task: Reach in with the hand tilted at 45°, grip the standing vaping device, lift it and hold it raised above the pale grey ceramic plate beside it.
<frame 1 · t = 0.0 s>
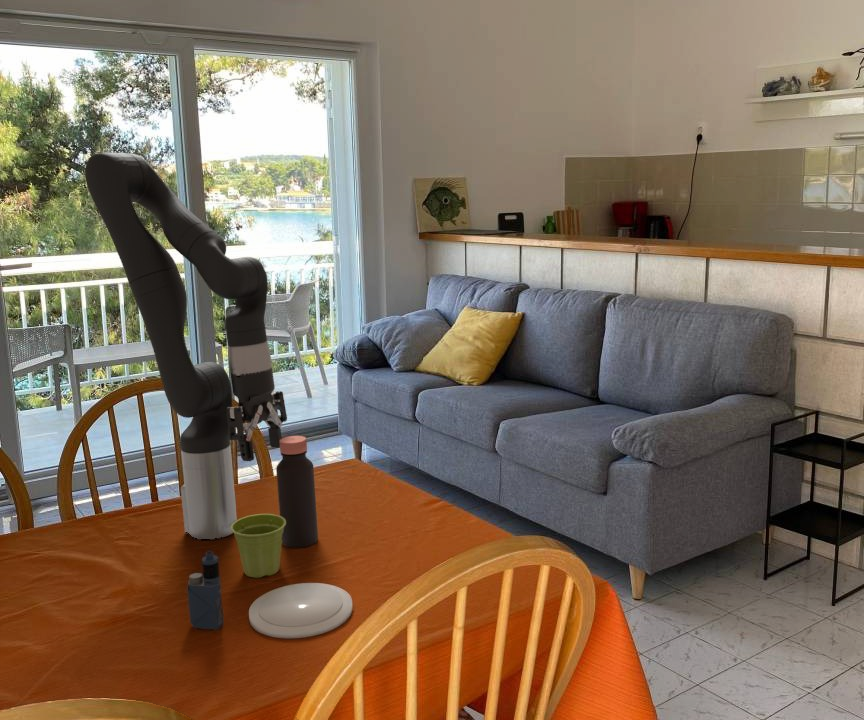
hand: (262, 453, 159), 17 cm above the table, tool pointing down, fingers open, 8 cm apart
plant pot: (262, 571, 149), on the table
plate: (301, 612, 134), on the table
vaping device: (207, 626, 131), on the table
bottle: (300, 542, 161), on the table
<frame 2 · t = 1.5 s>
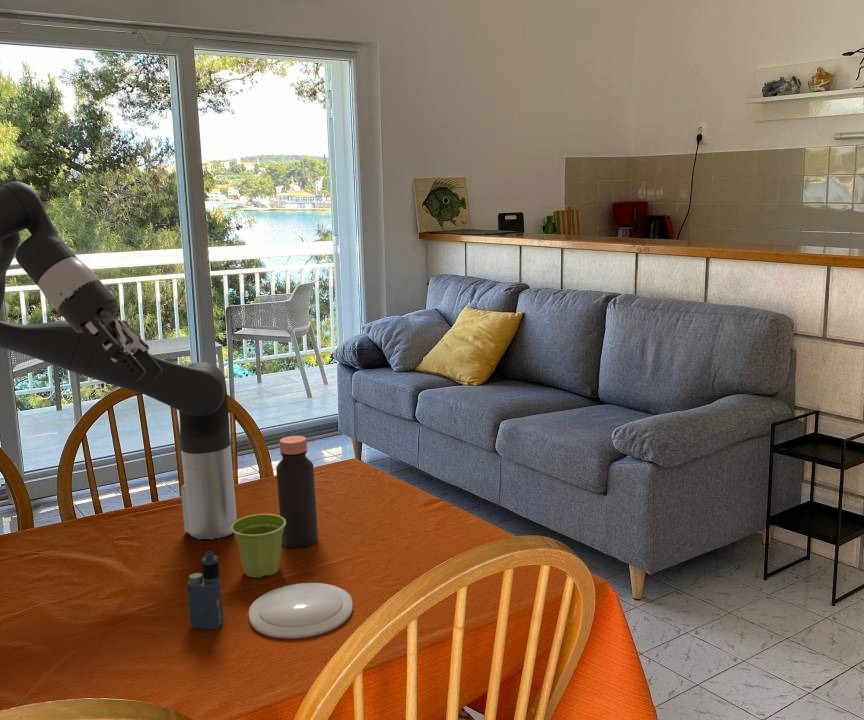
hand: (149, 376, 129), 38 cm above the table, tool tilted 40°, fingers open, 8 cm apart
nothing on the table moved.
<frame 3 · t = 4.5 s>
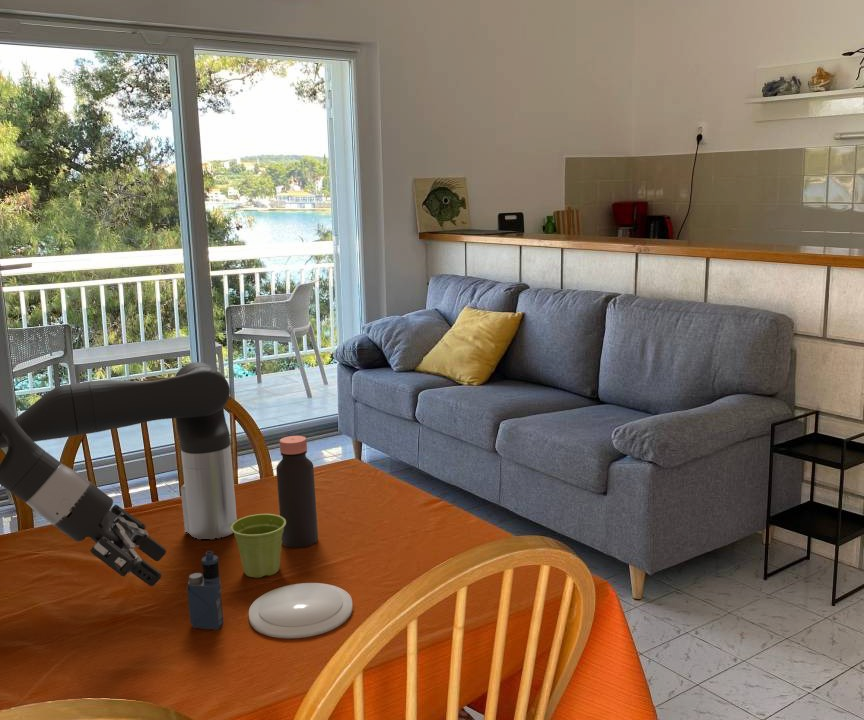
hand: (160, 568, 127), 11 cm above the table, tool tilted 45°, fingers open, 8 cm apart
nothing on the table moved.
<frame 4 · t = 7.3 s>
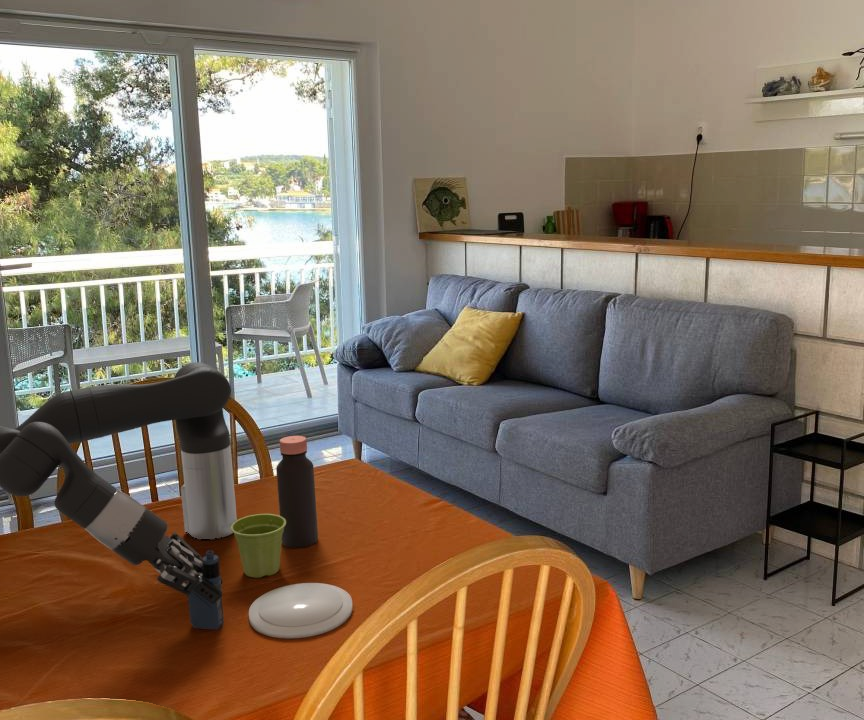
hand: (218, 592, 130), 5 cm above the table, tool tilted 45°, fingers closed on vaping device, 3 cm apart
vaping device: (208, 626, 131), on the table, touching gripper
everything else where it was.
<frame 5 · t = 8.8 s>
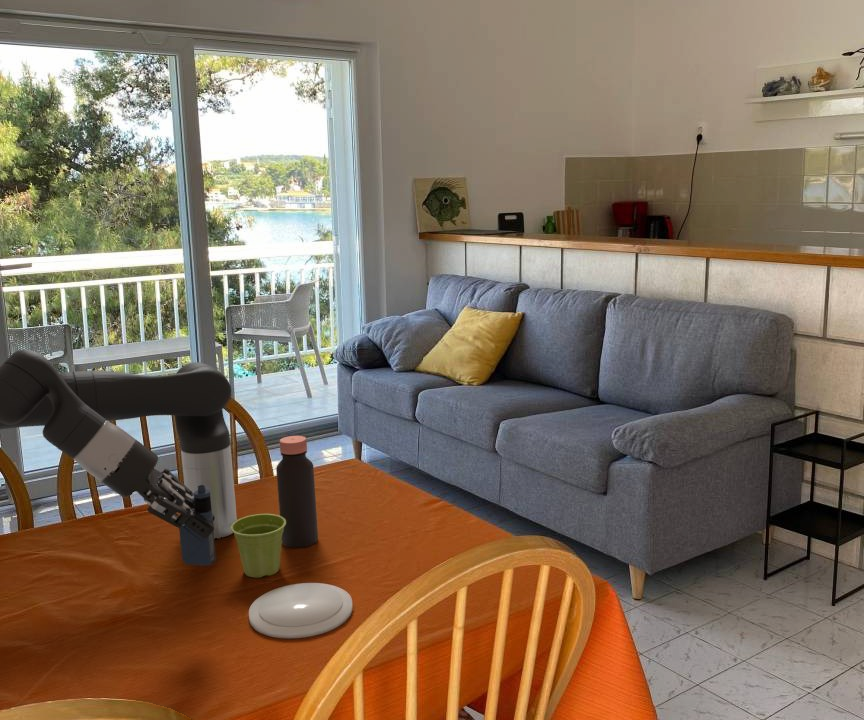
hand: (210, 527, 128), 16 cm above the table, tool tilted 45°, fingers closed on vaping device, 3 cm apart
vaping device: (199, 563, 129), point 10 cm above the table, touching gripper
everything else where it was.
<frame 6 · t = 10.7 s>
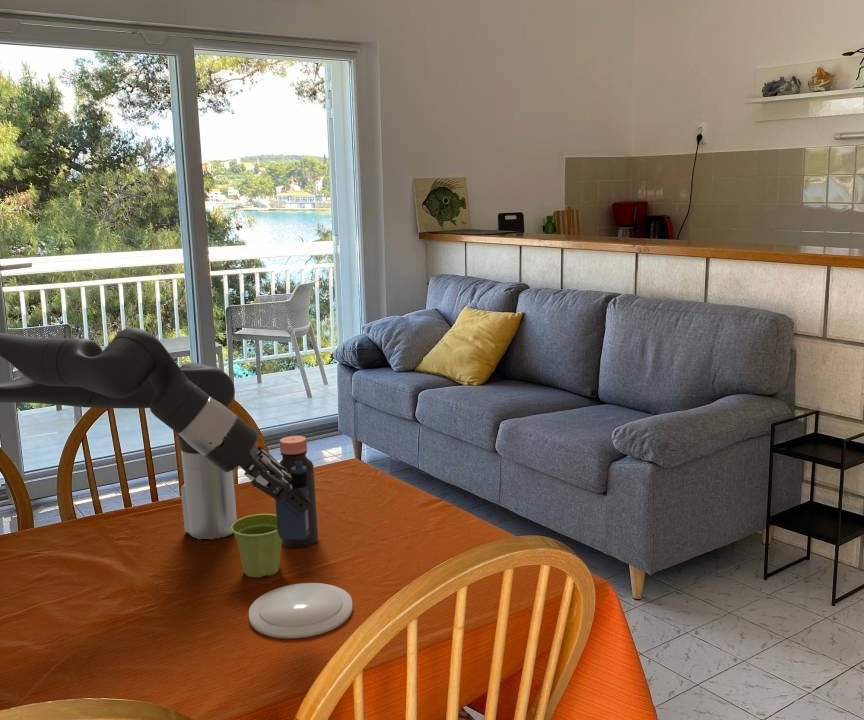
hand: (305, 502, 131), 18 cm above the table, tool tilted 45°, fingers closed on vaping device, 3 cm apart
vaping device: (294, 537, 132), point 12 cm above the table, touching gripper
everything else where it was.
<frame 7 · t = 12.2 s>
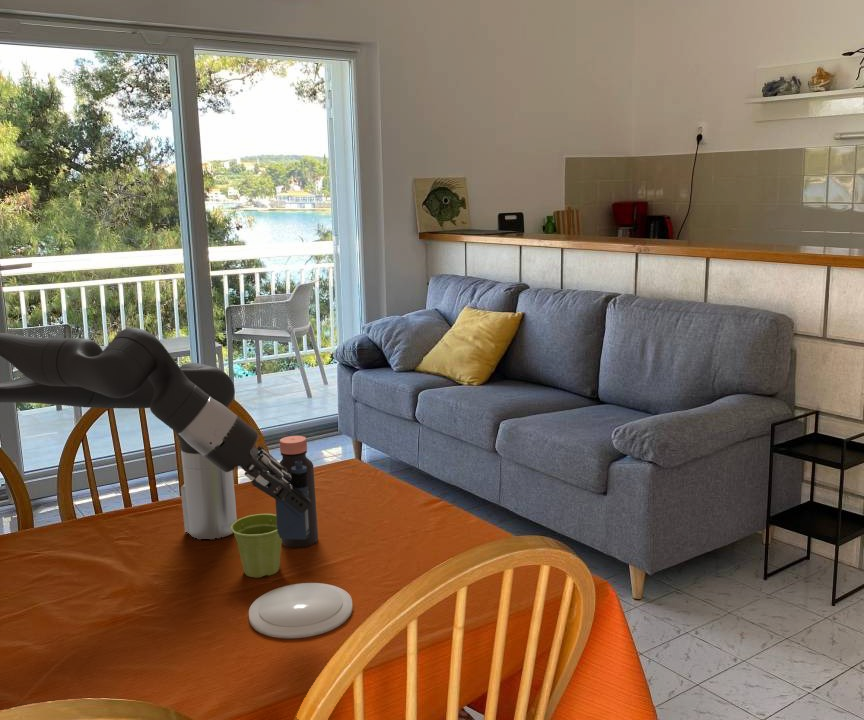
hand: (305, 502, 131), 18 cm above the table, tool tilted 45°, fingers closed on vaping device, 3 cm apart
vaping device: (294, 537, 132), point 12 cm above the table, touching gripper
everything else where it was.
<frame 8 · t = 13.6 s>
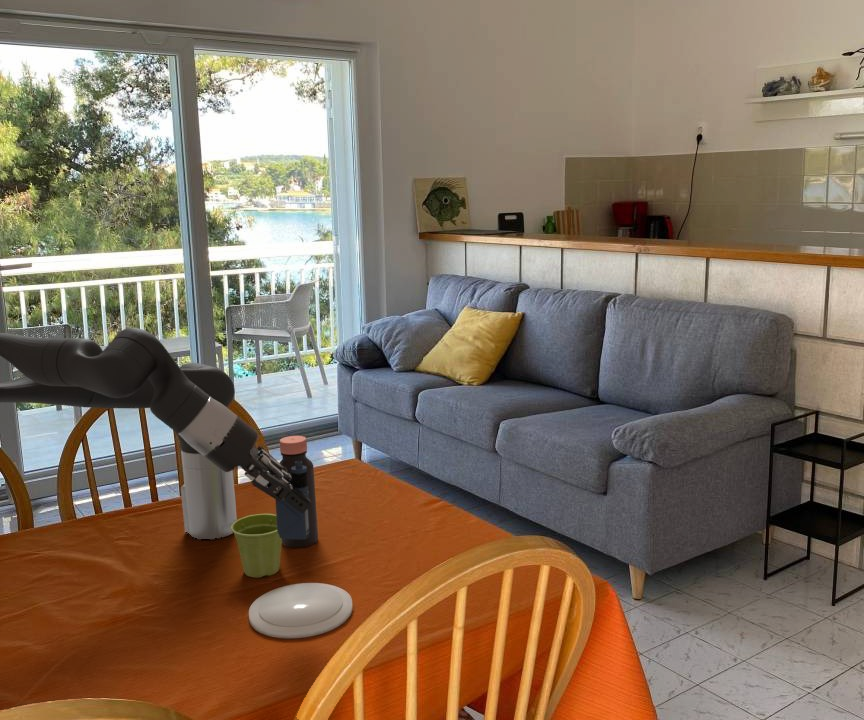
hand: (305, 502, 131), 18 cm above the table, tool tilted 45°, fingers closed on vaping device, 3 cm apart
vaping device: (294, 537, 132), point 12 cm above the table, touching gripper
everything else where it was.
at the end: the gripper is holding vaping device; vaping device point 12.4 cm above the table; vaping device 0.2 cm from the plate (horizontally) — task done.
